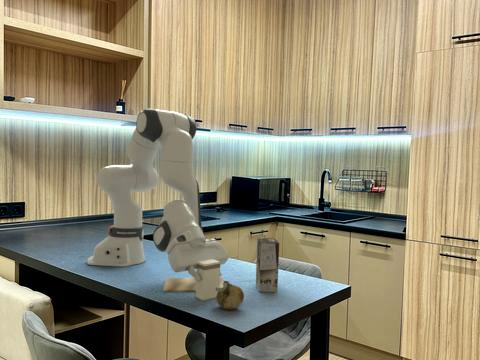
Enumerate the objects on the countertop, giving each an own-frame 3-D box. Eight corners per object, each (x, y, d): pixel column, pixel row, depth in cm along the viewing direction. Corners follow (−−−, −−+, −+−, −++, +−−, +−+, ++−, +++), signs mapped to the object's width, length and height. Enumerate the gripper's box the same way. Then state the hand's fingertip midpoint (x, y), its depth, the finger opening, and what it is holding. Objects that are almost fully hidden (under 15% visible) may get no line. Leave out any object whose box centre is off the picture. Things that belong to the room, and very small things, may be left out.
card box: (195, 296, 132) (196, 261, 132) (211, 293, 136) (212, 259, 136) (203, 300, 129) (204, 264, 128) (219, 296, 133) (220, 261, 132)
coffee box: (278, 292, 139) (279, 243, 139) (258, 292, 139) (260, 242, 138) (273, 283, 149) (275, 237, 148) (255, 283, 148) (256, 237, 147)
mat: (162, 291, 136) (162, 289, 136) (165, 279, 150) (165, 277, 150) (225, 291, 138) (225, 289, 138) (222, 279, 152) (222, 277, 152)
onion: (241, 313, 119) (241, 285, 118) (212, 311, 120) (213, 283, 120) (245, 304, 126) (246, 278, 126) (218, 302, 128) (219, 276, 127)
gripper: (213, 243, 147) (230, 278, 140) (161, 250, 134) (177, 289, 127) (221, 232, 144) (239, 267, 137) (169, 239, 130) (186, 278, 123)
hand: (209, 278), depth 132 cm, fingers closed on card box, 6 cm apart
